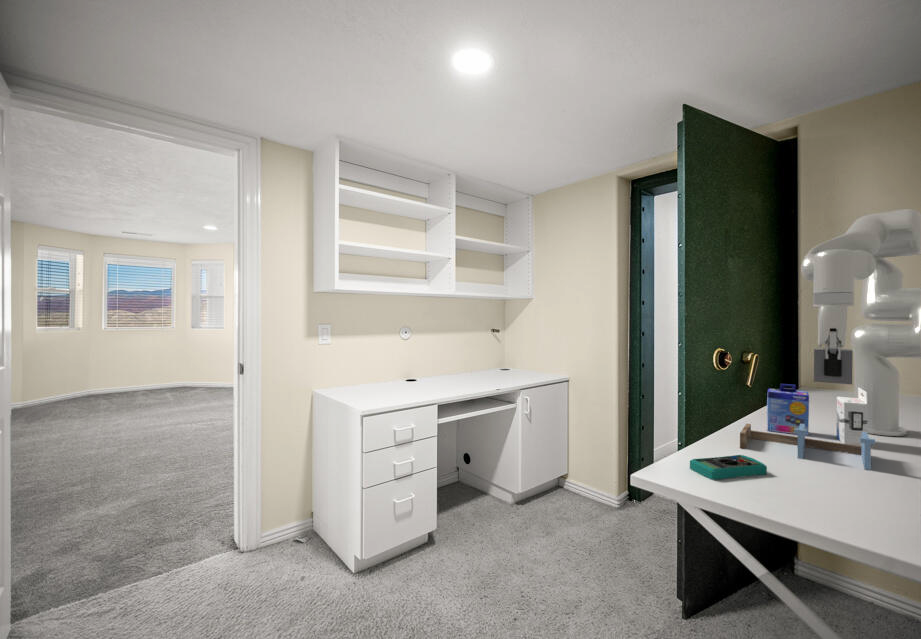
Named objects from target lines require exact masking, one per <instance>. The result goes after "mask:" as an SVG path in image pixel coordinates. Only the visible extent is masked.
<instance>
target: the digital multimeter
mask: <svg viewBox="0 0 921 639" xmlns="http://www.w3.org/2000/svg"><path fill="white" fill-rule="evenodd" d="M767 467H768V466H767V465H766V464H764V463H763V462H761V461H759V460H757V459H756V458H753V457H750V456H747V455H743V454H735V455H727V456H725V455H724V456H718V457H717V456H715V457H705V458H703V457H702V458H693V459H691V460H689V469H690V470H691V471H693V472H695V473H697V474H698V475H701V476H703V477H705V478H707V479H709V480H712V481H717V480H725V479H733V478H743V477H754V476H766V475H767V474H768V468H767Z"/></svg>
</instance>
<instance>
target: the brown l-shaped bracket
mask: <svg viewBox="0 0 921 639" xmlns="http://www.w3.org/2000/svg"><path fill="white" fill-rule="evenodd" d="M751 426H752V425H751V423H746V424H745V425H744V426H743V428H742V429H741V431H740V432H739V449H746V447H747V445H748V444H749V442H750V440H751V439H754V440H759V441H760V440H761V441H768V442H775V443H781V444H786V445H792V444H793V445H792V446H794V445H795V446H798V436H795V435H794V436H792V435H787V434H780V433H772V432H764V431H758V430H752V427H751ZM805 446H806V447H807V448H812V447H813V448H812V449H818V448H820V449H819V450H825V449H826V450H825V451H831V450H833V451H832V452H838V451H841V452H840V453H844V452H848V453H847V454H851V453H853V454H852V455H857V454H859V456H861V446H856V445H849V444H843V443H842V442H841V443H840V442H836V441H835V442H834V441H828V440H820V439H814V438H808V437H807V438H806V437H805ZM806 447H805V448H806Z"/></svg>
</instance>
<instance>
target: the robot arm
mask: <svg viewBox="0 0 921 639" xmlns="http://www.w3.org/2000/svg"><path fill="white" fill-rule="evenodd" d="M919 255H921V212H919V211H917V210H915V209H911V208H910V209H908V208H905V209H898V210H892V211H891V210H890V211H885V212H876V213H869V214H867V215H864V216H861V217H859V218H857V219H856V220H855V221H854V222H853V223H852V224H851V226H849V228H848V229H847V231H846V232H845V233H844V234H841V235H838V236H836V237H833V238H831V239H828V240H826V241H824V242H821V243H819V244H817V245H815V246H813V247H812V248H811V249H810V250H808V252H807V254H805V256H804V257H803V259H802V262H801V265H800V273H801V276H802V277H803V279H804V280H805V281H808V282H810V283H813V290H812V291H813V297H812V298H813V299H812V300H813V301H812V302H813V304H812V305H813V308H814V307H818V312H817V346H819V347H820V348H822V345H825V346H824V347H825V349H826V358H825V359H824V375H825V376H835V377H841V376H842V360H840V354H841V349H842V348H843V347H844V346H845V345H846V344H845V343H846V338H847V337H846V336H847V327H848V307H854V306H855V281H861V280H863V281H862V288H861V289H862V290H861V291H862V292H861V301H860V312H861V316H862V317H863V318H864V319H866V320H869V321H877V322H912V323H913V324H893V323H890V324H889V323H869V324H867V323H866V324H862V325H858V326H856V327H855V328H853V330H852V331H851V334H850V343H851V347H852V348H851V349H852V351H853V359H854V360H853V361H854V362H853V363H854V398H858V387H859V388H861V389H862V390H864V391H866V392H867V433H868V434H871V435H877V436H888V437H889V436H890V437H902V436H906V435H907V432H908V431H907V429H905V428H903V427H900V372H899V370H898V368H897V367H896V366H895V364H893V362H891V361H890V360H889V359H888V358H897V359H898V358H899V359H916V360H917V359H918V360H921V287H912V288H911V287H910V288H903V279H904V275H903V274H904V273H903V272H902V270H901V269H900V268H898V267H897V266H896V265H895V264H894V263H892V262H891V261H889V260H888V259H887V258H897V257H909V256H910V257H911V256H919ZM828 349H829V350H828ZM828 353H829V357H828ZM837 354H838V357H837ZM828 358H829V359H828ZM837 358H838V360H837ZM861 395H862V396H863V397H864V395H863V393H861Z"/></svg>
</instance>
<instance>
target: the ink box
mask: <svg viewBox="0 0 921 639" xmlns="http://www.w3.org/2000/svg"><path fill="white" fill-rule="evenodd" d="M861 393H863V395H864V397H863V396H862V395H861ZM862 431H863V432H867V392H866V391H864V390H862V389H861V388H859V387H858V398H855V397H850V396H849V397H847V396H836V438H837V440H839V441H840V442H841V443H842V444H849V445H856V446H861V444H862V443H860V437H862Z"/></svg>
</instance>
